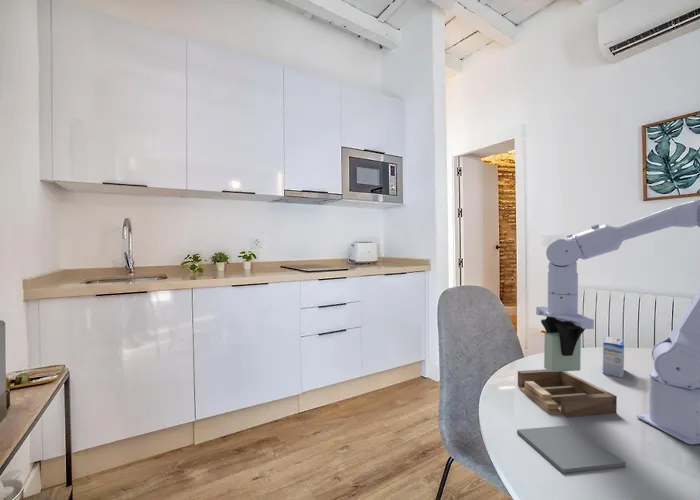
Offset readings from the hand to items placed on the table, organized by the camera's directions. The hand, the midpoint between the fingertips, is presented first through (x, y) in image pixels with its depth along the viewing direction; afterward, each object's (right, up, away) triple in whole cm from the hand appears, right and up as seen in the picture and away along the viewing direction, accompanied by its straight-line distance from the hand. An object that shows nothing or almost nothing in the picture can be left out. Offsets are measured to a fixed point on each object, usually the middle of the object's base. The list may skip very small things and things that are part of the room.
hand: (562, 353), depth 75 cm
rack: (0, -10, +1) cm, 10 cm away
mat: (-11, -11, -18) cm, 24 cm away
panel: (0, -4, 0) cm, 4 cm away
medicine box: (+24, -10, +16) cm, 31 cm away
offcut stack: (-6, -11, -1) cm, 12 cm away
